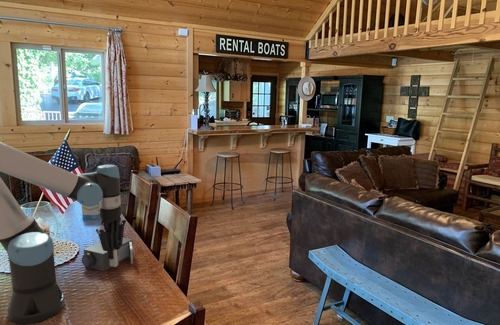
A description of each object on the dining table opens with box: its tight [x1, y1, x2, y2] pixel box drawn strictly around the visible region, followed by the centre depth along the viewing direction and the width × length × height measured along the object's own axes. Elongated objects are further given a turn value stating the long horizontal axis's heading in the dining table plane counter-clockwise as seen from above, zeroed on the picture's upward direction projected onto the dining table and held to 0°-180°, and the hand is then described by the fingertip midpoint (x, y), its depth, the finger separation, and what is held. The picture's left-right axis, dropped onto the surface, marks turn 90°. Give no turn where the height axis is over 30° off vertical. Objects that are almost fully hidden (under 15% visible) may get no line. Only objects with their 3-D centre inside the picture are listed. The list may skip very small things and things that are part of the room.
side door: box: [129, 240, 134, 265], centre depth 148 cm, size 9×1×6 cm, turn 21°
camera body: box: [81, 236, 134, 272], centre depth 147 cm, size 18×10×8 cm, turn 156°
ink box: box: [81, 203, 101, 220], centre depth 201 cm, size 8×8×12 cm
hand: (113, 265), depth 140 cm, fingers closed
